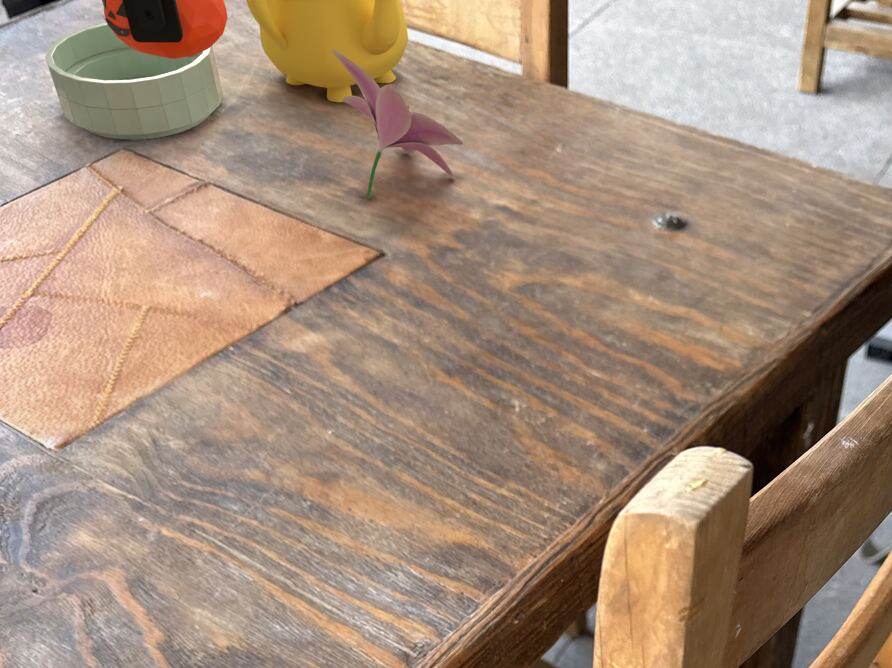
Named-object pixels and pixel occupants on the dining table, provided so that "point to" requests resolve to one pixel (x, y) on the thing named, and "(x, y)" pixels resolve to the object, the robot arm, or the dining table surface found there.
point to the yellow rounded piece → (331, 39)
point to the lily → (396, 120)
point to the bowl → (130, 86)
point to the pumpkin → (198, 20)
